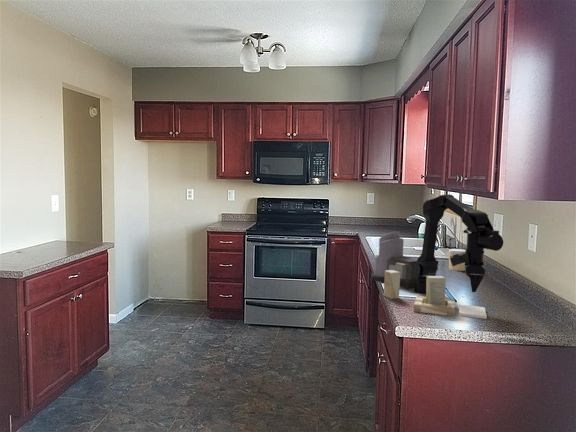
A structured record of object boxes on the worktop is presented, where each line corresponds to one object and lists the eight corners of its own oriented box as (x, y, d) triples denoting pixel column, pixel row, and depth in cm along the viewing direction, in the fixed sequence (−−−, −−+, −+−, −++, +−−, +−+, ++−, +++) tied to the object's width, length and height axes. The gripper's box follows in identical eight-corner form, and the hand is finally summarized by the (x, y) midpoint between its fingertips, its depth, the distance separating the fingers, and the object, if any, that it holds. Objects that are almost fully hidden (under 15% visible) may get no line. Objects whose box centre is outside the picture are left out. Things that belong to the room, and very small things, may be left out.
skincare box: (442, 307, 169) (443, 275, 168) (445, 310, 165) (446, 278, 164) (424, 306, 170) (426, 275, 169) (427, 310, 165) (428, 277, 165)
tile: (458, 307, 170) (458, 304, 170) (484, 309, 167) (484, 307, 167) (458, 315, 159) (459, 313, 159) (486, 318, 156) (486, 316, 156)
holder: (416, 302, 176) (417, 295, 176) (454, 306, 171) (454, 299, 171) (413, 311, 163) (413, 304, 163) (454, 316, 158) (454, 309, 158)
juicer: (362, 278, 220) (364, 229, 218) (388, 276, 227) (390, 228, 225) (403, 292, 193) (405, 236, 191) (431, 288, 200) (434, 234, 198)
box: (383, 296, 184) (384, 270, 183) (391, 295, 186) (392, 269, 185) (391, 299, 179) (391, 272, 179) (399, 298, 181) (400, 271, 180)
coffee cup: (458, 270, 245) (459, 248, 244) (470, 273, 236) (471, 251, 236) (444, 271, 242) (444, 249, 241) (455, 274, 233) (456, 251, 233)
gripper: (451, 242, 173) (449, 282, 174) (451, 248, 155) (449, 292, 156) (483, 244, 169) (481, 284, 170) (486, 250, 151) (484, 296, 152)
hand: (473, 289), depth 162 cm, fingers open, 9 cm apart
